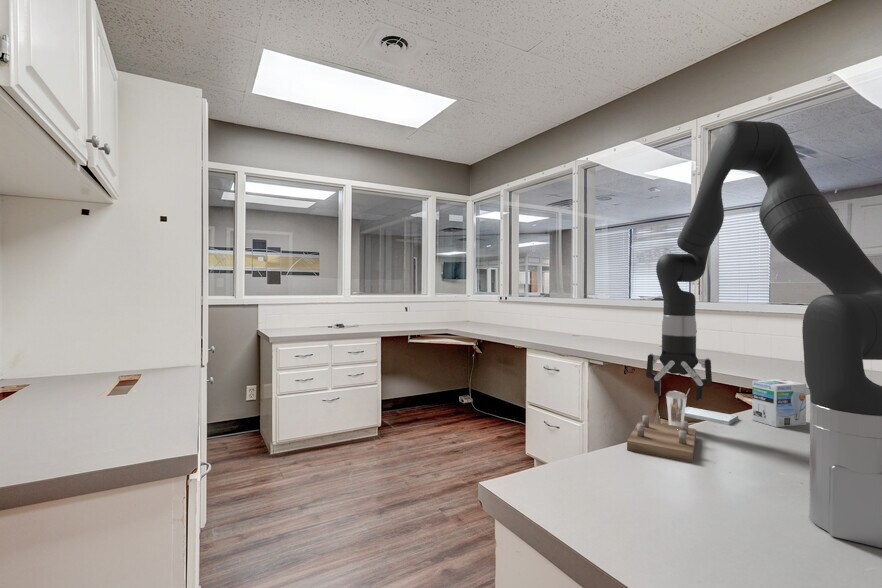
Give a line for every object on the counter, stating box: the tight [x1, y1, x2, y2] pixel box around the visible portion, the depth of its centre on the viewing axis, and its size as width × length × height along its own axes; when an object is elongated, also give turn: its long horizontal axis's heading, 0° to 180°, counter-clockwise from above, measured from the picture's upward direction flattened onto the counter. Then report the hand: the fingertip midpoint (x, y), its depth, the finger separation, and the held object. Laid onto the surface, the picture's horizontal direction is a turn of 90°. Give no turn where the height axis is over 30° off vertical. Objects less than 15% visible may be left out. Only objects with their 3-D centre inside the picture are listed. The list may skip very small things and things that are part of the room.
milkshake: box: [665, 388, 691, 427], centre depth 106 cm, size 4×5×10 cm
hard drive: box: [684, 406, 739, 426], centre depth 116 cm, size 2×8×12 cm
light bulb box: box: [751, 378, 807, 428], centre depth 111 cm, size 11×7×11 cm, turn 105°
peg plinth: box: [626, 414, 697, 464], centre depth 94 cm, size 18×12×4 cm, turn 147°
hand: (677, 397), depth 106 cm, fingers open, 8 cm apart
